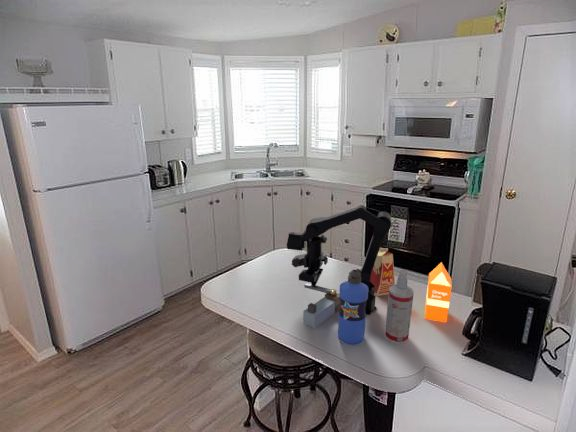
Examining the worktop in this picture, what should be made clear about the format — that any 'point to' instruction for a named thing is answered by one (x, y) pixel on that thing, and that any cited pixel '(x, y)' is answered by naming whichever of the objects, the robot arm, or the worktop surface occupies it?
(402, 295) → the spray bottle
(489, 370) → the worktop surface
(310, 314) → the blue-grey block
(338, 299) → the tan wooden block
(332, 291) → the bar
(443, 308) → the orange juice
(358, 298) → the blue bottle
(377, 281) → the milk carton
